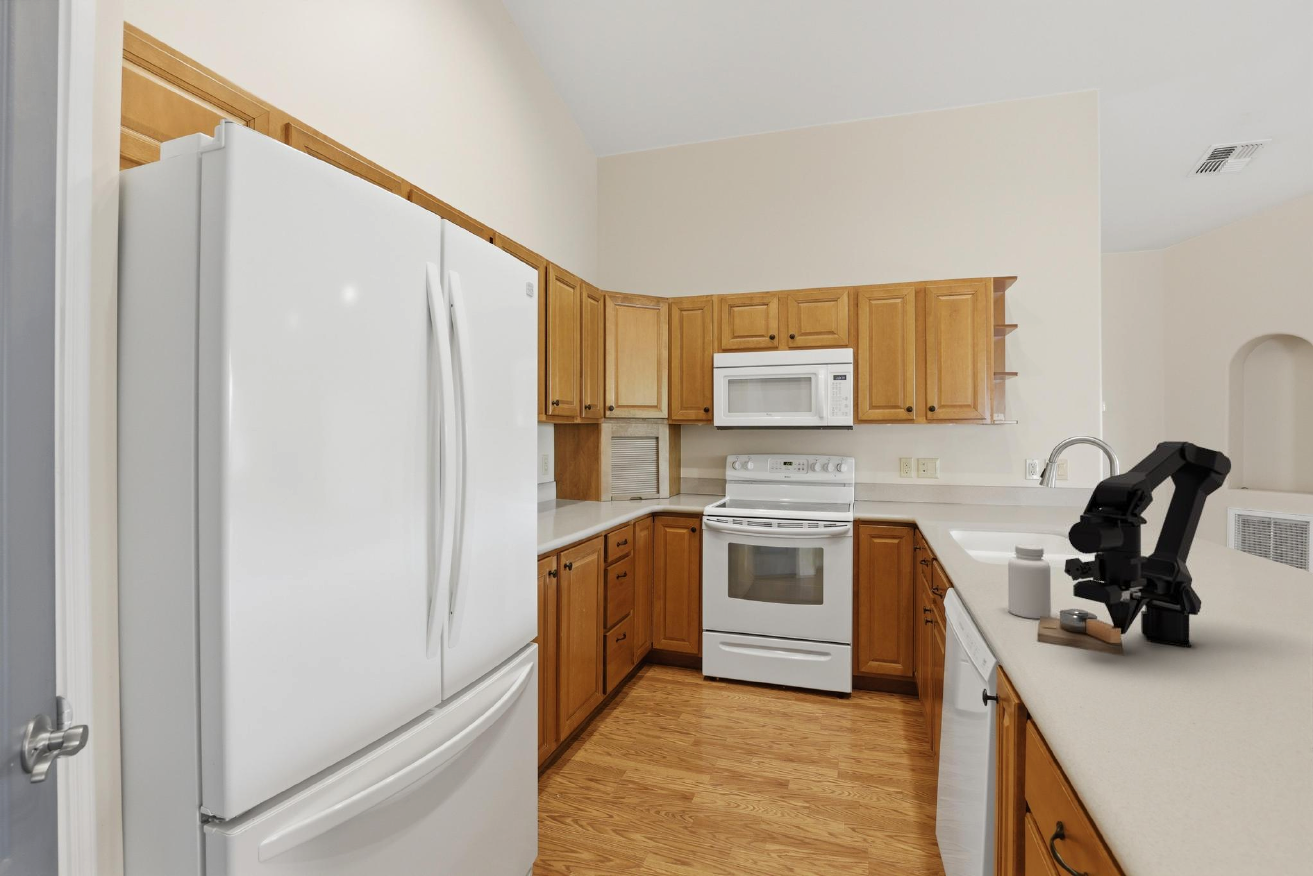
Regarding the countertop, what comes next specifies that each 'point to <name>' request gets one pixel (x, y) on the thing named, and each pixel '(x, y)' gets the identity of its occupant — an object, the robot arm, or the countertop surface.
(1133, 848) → the countertop surface
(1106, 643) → the base plate
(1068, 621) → the metal and wood piece
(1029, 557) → the pill bottle
